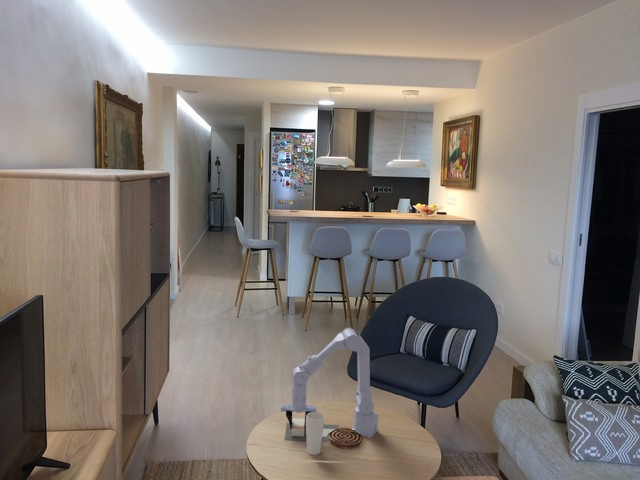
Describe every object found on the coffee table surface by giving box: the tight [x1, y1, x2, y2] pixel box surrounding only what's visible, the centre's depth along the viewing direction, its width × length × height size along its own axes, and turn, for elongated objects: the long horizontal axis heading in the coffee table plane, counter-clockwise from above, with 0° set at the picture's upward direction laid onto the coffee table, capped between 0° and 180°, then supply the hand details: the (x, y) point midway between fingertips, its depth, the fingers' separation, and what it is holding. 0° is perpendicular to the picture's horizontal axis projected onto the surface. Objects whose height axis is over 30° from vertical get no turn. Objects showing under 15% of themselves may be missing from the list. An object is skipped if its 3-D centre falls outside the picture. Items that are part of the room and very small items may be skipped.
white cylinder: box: [306, 411, 325, 456], centre depth 203 cm, size 7×7×15 cm
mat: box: [284, 422, 340, 443], centre depth 218 cm, size 22×14×1 cm, turn 90°
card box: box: [291, 417, 305, 437], centre depth 218 cm, size 8×5×3 cm, turn 0°
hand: (298, 428), depth 218 cm, fingers closed on card box, 5 cm apart
